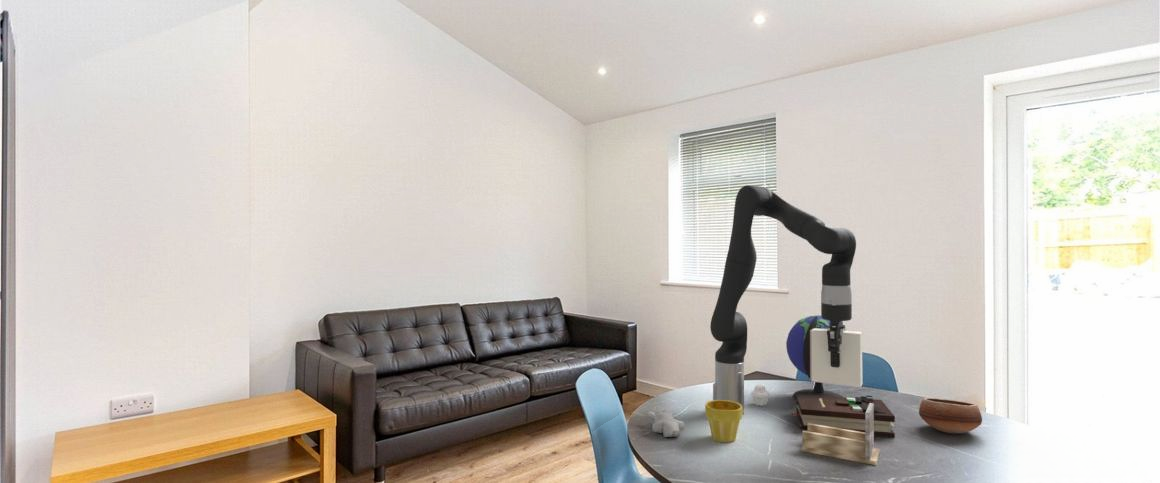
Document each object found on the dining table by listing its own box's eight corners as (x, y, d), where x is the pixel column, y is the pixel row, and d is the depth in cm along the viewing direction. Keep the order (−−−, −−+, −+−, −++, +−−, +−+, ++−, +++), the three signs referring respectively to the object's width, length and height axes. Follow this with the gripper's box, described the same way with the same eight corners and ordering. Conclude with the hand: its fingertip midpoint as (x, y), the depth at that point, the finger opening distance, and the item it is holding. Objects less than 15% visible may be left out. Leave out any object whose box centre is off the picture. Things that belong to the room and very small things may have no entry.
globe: (865, 408, 191) (865, 319, 190) (799, 408, 191) (799, 319, 191) (836, 390, 213) (836, 311, 213) (777, 390, 213) (777, 311, 213)
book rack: (801, 450, 153) (801, 403, 153) (809, 439, 161) (809, 394, 161) (876, 465, 143) (876, 414, 143) (879, 452, 152) (880, 404, 152)
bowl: (975, 427, 171) (975, 394, 171) (987, 445, 157) (987, 409, 157) (915, 420, 178) (916, 389, 178) (922, 436, 164) (922, 402, 163)
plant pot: (722, 447, 156) (722, 412, 156) (697, 435, 165) (697, 402, 165) (750, 441, 160) (750, 407, 160) (725, 430, 170) (725, 397, 169)
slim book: (810, 381, 154) (809, 330, 154) (813, 378, 157) (812, 328, 157) (860, 387, 147) (860, 333, 147) (862, 384, 151) (862, 331, 151)
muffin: (754, 400, 200) (754, 381, 200) (771, 403, 196) (771, 383, 196) (748, 405, 195) (748, 384, 195) (766, 408, 191) (766, 387, 191)
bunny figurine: (658, 427, 161) (642, 405, 176) (657, 443, 162) (642, 421, 176) (689, 424, 163) (671, 403, 177) (688, 441, 163) (671, 419, 178)
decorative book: (788, 389, 188) (888, 396, 179) (788, 412, 188) (888, 420, 179) (793, 406, 169) (905, 415, 161) (793, 431, 169) (905, 441, 161)
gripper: (826, 298, 160) (826, 359, 160) (816, 303, 148) (816, 368, 148) (855, 300, 156) (855, 362, 156) (847, 305, 144) (847, 372, 144)
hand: (836, 364), depth 152 cm, fingers closed on slim book, 4 cm apart
